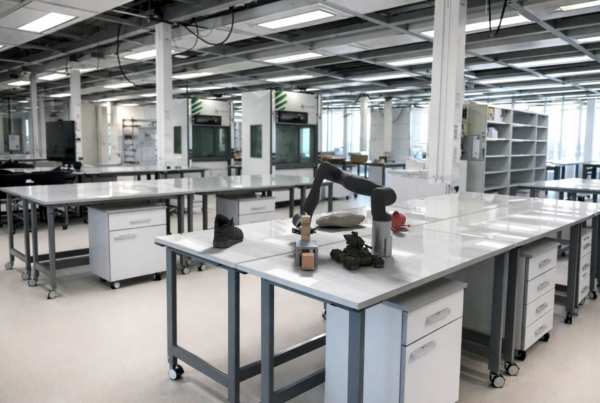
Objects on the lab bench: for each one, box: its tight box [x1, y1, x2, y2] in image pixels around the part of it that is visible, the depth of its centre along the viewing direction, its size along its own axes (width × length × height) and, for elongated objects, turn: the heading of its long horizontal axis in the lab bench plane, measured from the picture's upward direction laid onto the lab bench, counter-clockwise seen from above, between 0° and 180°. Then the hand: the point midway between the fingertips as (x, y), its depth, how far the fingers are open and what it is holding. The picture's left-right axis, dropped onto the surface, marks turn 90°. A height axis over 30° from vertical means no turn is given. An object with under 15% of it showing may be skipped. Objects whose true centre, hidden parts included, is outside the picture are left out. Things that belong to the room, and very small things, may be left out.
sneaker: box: [212, 213, 245, 249], centre depth 255 cm, size 12×29×17 cm, turn 169°
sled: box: [299, 214, 315, 270], centre depth 215 cm, size 27×5×19 cm, turn 2°
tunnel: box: [295, 239, 319, 267], centre depth 218 cm, size 14×9×8 cm
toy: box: [390, 210, 411, 233], centre depth 301 cm, size 18×17×30 cm
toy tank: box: [329, 230, 386, 271], centre depth 217 cm, size 17×27×14 cm, turn 18°
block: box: [301, 252, 315, 268], centre depth 206 cm, size 5×5×5 cm
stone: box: [315, 212, 366, 228], centre depth 308 cm, size 33×9×20 cm
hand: (304, 233), depth 232 cm, fingers closed
